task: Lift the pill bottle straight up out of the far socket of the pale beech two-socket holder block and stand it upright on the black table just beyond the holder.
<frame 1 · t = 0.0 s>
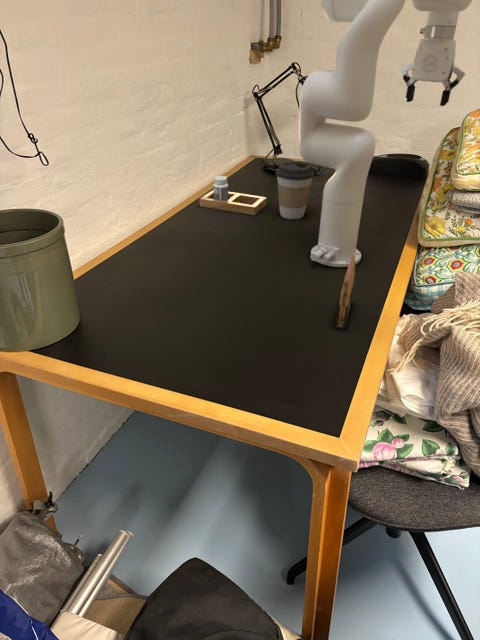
hand: (425, 103, 141), 31 cm above the table, tool pointing down, fingers open, 9 cm apart
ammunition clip: (343, 315, 104), on the table
coffee cup: (291, 215, 153), on the table
holder: (233, 205, 159), on the table
pill bottle: (220, 204, 161), resting in holder
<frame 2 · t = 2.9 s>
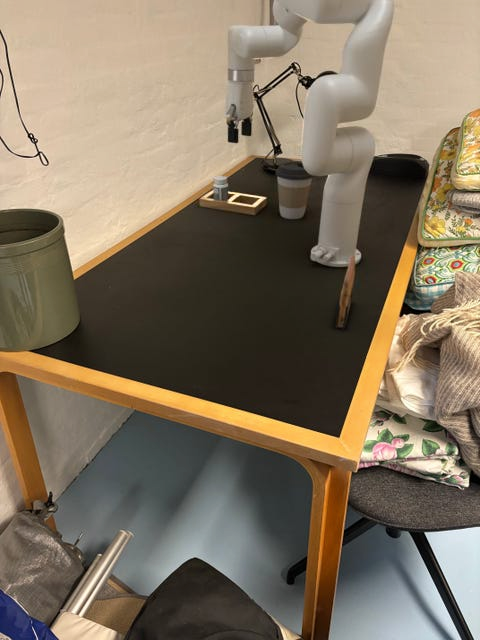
hand: (239, 139, 150), 20 cm above the table, tool pointing down, fingers open, 9 cm apart
nothing on the table moved.
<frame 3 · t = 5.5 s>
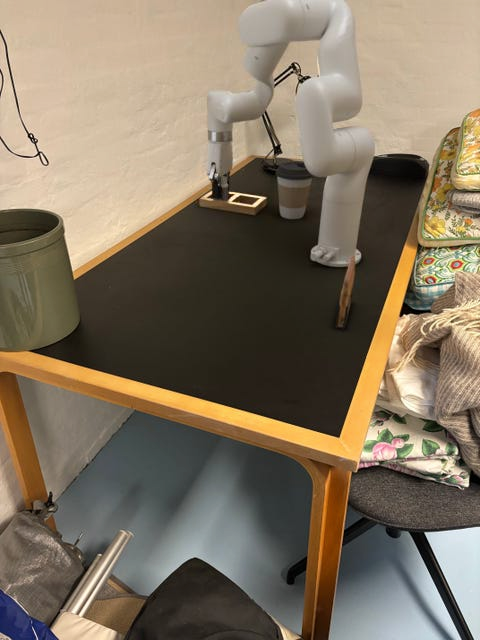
hand: (220, 194, 159), 3 cm above the table, tool pointing down, fingers closed on pill bottle, 4 cm apart
pill bottle: (220, 204, 161), resting in holder, touching gripper
everything else where it was.
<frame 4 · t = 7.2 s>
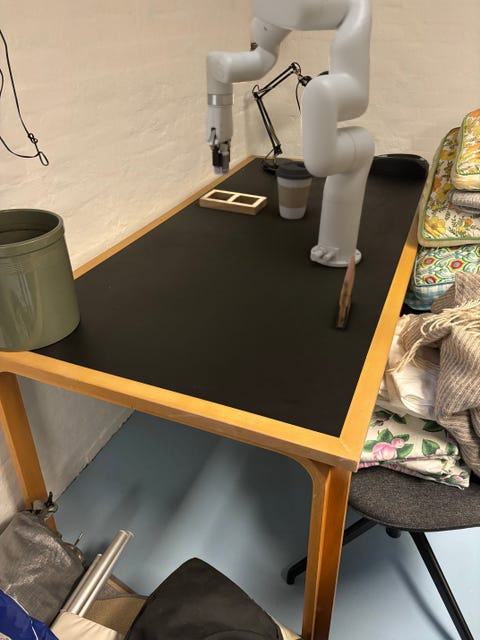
hand: (221, 163, 154), 13 cm above the table, tool pointing down, fingers closed on pill bottle, 4 cm apart
pill bottle: (221, 173, 155), point 10 cm above the table, touching gripper
everything else where it was.
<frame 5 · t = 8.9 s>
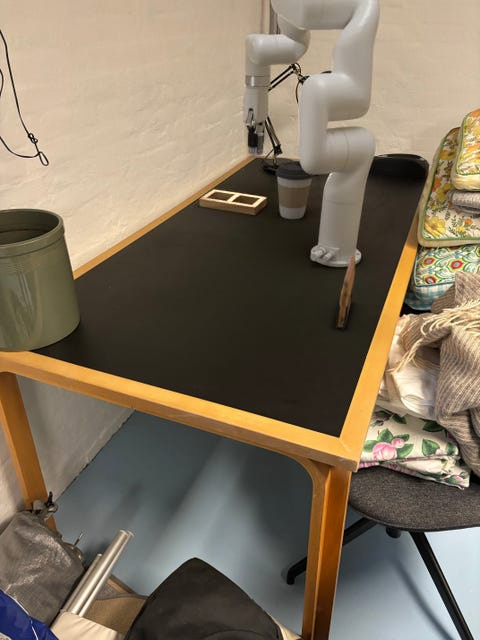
hand: (255, 144, 158), 17 cm above the table, tool pointing down, fingers closed on pill bottle, 4 cm apart
pill bottle: (255, 154, 160), point 14 cm above the table, touching gripper
everything else where it was.
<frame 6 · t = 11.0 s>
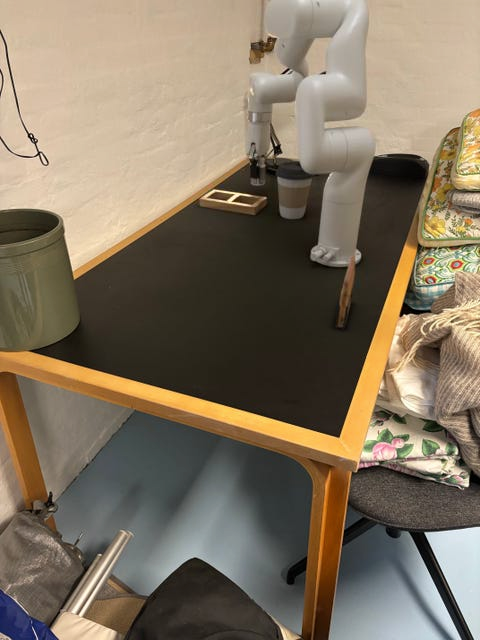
hand: (258, 175, 164), 7 cm above the table, tool pointing down, fingers closed on pill bottle, 4 cm apart
pill bottle: (257, 184, 166), point 4 cm above the table, touching gripper
everything else where it was.
when the fingers open (3 cm above the table, at t = 12.4 s): pill bottle stays where it is, on the table.
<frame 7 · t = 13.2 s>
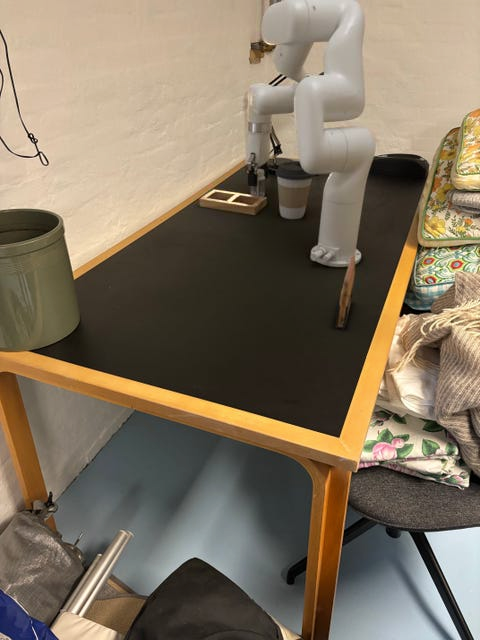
hand: (258, 181, 166), 5 cm above the table, tool pointing down, fingers open, 9 cm apart
pill bottle: (257, 196, 168), on the table
everything else where it was.
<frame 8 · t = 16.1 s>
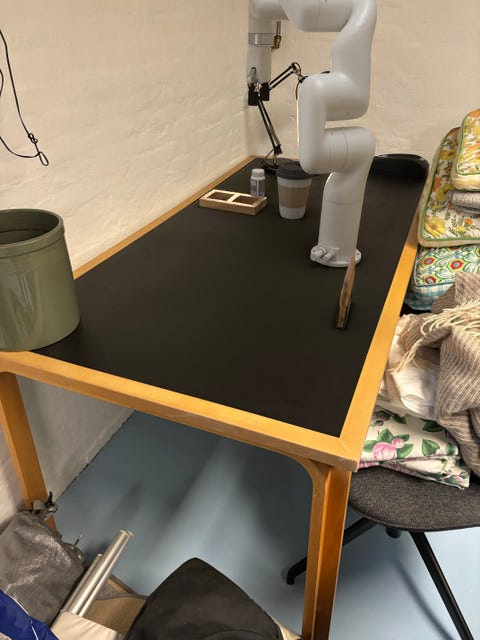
hand: (258, 103, 155), 28 cm above the table, tool pointing down, fingers open, 9 cm apart
nothing on the table moved.
at the end: pill bottle 0.1 cm from the target spot, on the table; pill bottle tilted 0°; the gripper is holding nothing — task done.
